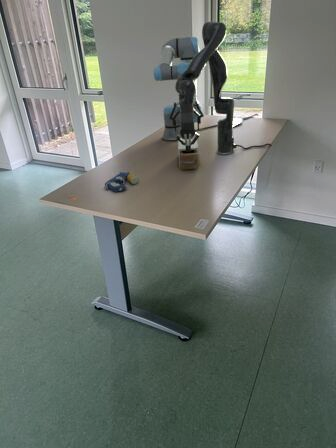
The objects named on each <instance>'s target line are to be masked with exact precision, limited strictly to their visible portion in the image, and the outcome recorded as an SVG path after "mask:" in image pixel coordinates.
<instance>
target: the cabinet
mask: <svg viewBox="0 0 336 448" xmlns="http://www.w3.org/2000/svg"><path fill="white" fill-rule="evenodd" d="M194 138H195V137H193V138H192V139H191V142H192V141H193V139H194ZM182 140H183V141H184V142H185V139H183V138H182ZM187 143H189V139H187ZM182 150H186V146H185V145H182V144H181V143H180V142H179V140H177V153H178V155H179V154H181V151H182ZM191 150H196V153H198V167H199V165H200V160H199V159H200V157H199V155H200V154H199V143H198V139H197V140H196V142H195V143H194V144H192V145H191ZM178 167H179V168H180V157H179V156H178Z"/></svg>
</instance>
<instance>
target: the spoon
mask: <svg viewBox="0 0 336 448" xmlns="http://www.w3.org/2000/svg"><path fill="white" fill-rule="evenodd" d="M242 119H243V118H240V117H233V128H234V127H236V126H238V125H240V124H241V123H242V122H243V120H242Z"/></svg>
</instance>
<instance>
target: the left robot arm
mask: <svg viewBox="0 0 336 448" xmlns="http://www.w3.org/2000/svg"><path fill="white" fill-rule="evenodd" d="M199 52H200V46H199V39H198V37H197V36H188V37H178V38H177V37H176V38H172V39H169V40H168V41H166V42H165V43H164V44H163V46H162V47H161V49H160V60H159V63H158V66H154V68H153V78H154V80H155V82H157V81H158V82H159V81H160V82H162V81H175V80H176V81H177V80H178V78H179V77H180V76H181V75H182V74H183V73H184V72H185V71H186V70H187V68H188V66H189V64H190V62H191V61H192V59H193V58H194V56H195V55H196V54H197V53H199ZM174 59H180V61H179V63H177V65H173V60H174ZM193 81H194V83H195V86H196V87H197V79H195V80H193ZM197 95H198V94H197V90H196V91H195V96H194V100H193V113H194V124H196V123H197V129H195V132H198V131H202V130H207V129H210V128H214V127H218V124H214V125H211V126H206V127H202V128H200V125H201V123H202V118H204V116H205V115H204V113H203V111H202V105H201V104H200V102H199V101H198V99H197ZM184 98H185V94H179V93H178V102H176V101H174V102H173V104H169V105H166V106H165V107H164V108H163V121H164V130H163V135H162V139H163V140H164V141H167V142H176V141H178V139H177V138H176V136H177V135H179V134H180V106H179V102H180V100H182V99H184ZM255 116H258V117H259V113H255V114H253V115H250V116H247V117H243V118H241V119H242V121H243V120H247V119H250V118H253V117H255ZM181 139H183V138H182V136H181Z"/></svg>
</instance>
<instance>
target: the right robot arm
mask: <svg viewBox="0 0 336 448" xmlns="http://www.w3.org/2000/svg"><path fill="white" fill-rule="evenodd" d="M202 25H203V26H202V29H201V37H202V41H203V45H204V47H203V48H202V49H201V50H199V53H197V54H196V55H195V56H194V58H193V59H192V61H191V62H190V64H189V66H188V68H187V70H186V71H185V72H184V73H183V74H182V75H181V76H180V77H179V78H178V79H177V80H176V82H175V86H174V88H175V92H176V93H177V94H178V95H179V94H185V98H184V99H182V100H180V102H179V101H178V103H179V106H180V134H179V135H177V136H176V138H177V139H178V140H179V142H180V143H181V144H182V145H185V146H186V151H187V152H190V151H191V145H192V144H194V143H195V142H196V140H197V141H198V139H199V138H200V134H199V133H197V131H195V130H196V129H195V123H194V113H193V100H194V96H195V91H196V92H197V85H196V86H195V83H194V81H193V80H195V79H196V80H197V79H199V77H200V76H201V74H202V72H203V70H204V69H205V67H206V65H207V63H208V67H209V75H210V80H211V84H212V92H213V105H214V111H215V113H216V114H218V115H225V117H224V118H221V119H219V120H217V125H218V126H217V148H216V149H217V152H216V153H217V154H219V155H221V156H222V155H223V156H227V155H230V154H232V153H234V149H237V147H240V148H242V149H243V150H249V149H251V148H262V147H266V146H269V147H272V143H265V144H262V145H261V144H260V145H251V146H247V147H244V146H243V145H240V144H236V143H235V138H234V137H233V135H234V134H233V133H234V131H233V129H234V127H233V118H234V115H235V114H234V113H235V100H234V99H233V98H231V97H222V91H223V88H224V86H225V84H226V82H227V81H228V68H227V67H228V66H227V63H226V61H225V59H224V58H223V56H222V55H221V54H220V52H219V50H218V48H219V47H220V46H221V45H222V43H223V42H224V40H225V39H226V36H227V25H226V24H225V23H224V22H221V21H206V22H204V24H202ZM181 136H182V139H185V142H184V141H183V140H182V139H181ZM192 138H194V139H193V141H192V142H191V139H192ZM187 139H189V143H187ZM178 140H177V141H178Z"/></svg>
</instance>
